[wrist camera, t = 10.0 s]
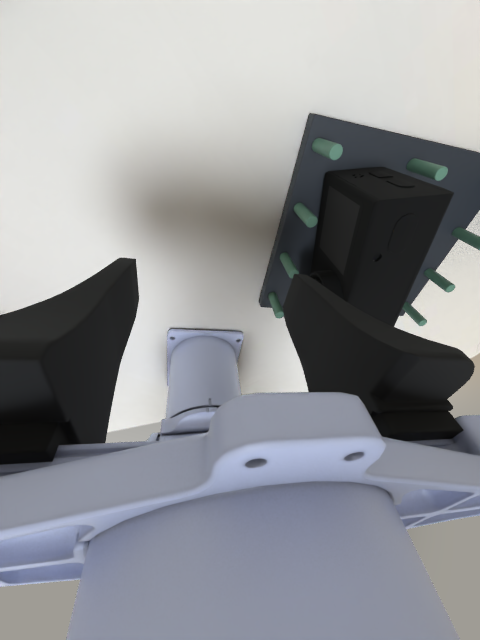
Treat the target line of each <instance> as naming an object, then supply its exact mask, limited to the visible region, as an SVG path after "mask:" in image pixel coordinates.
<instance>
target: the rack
mask: <svg viewBox="0 0 480 640" xmlns="http://www.w3.org/2000/svg"><path fill="white" fill-rule="evenodd" d="M372 167H386V168H388V169H391V170H394V171H397V172H400V173H403V174H405V175H408V176H411V177H414V178H417V179H419V180H422V181H425V182H428V183H431V184H433V185H436V186H439V187H442V188H445V189H447V190H449V191H451V192H454V195H453V197H452V199H451V201H450V204H449V206H448V208H447V210H446V213H445V215H444V217H443V219H442V222H441V224H440V226H439V228H438V231H437V233H436V235H435V237H434V239H433V242H432V244H431V246H430V248H429V251H428V253H427V255H426V257H425V260H424V262H423V264H422V266H421V268H420V271H419V273H418V275H417V277H416V279H415V282H414V284H413V286H412V288H411V290H410V293H409V295H408V297H407V299H406V301H405V303H404V306H403V308H402V310H401V312H400V314H399V316H403V315H404V314H405V312H406V313H407V314H408V315H409V316H410V317H411V318H412V319H413V320H414V321H415V322H416V323H417V324H418V325H419V326H423V325H425V324H426V323H427V320H426V319H425V318H424V317H423V316H422V315H421V314H420V313H419V312H418V311H417V310H415V309H414V308H413V307H412V306H411V304H412V302H413V301H414V300H415V298H416V297H417V296H418V294H419V293H420V291H421V290H422V289H423V287H424V286H425V284H426V283H427V282H428V280H429V279H430V280H431V281H433V282H434V283H435V284H437V285H438V286H439V287H440V288H442V289H443V290H444V291H446V292H451V291H453V290H454V288H455V285H454V284H452V283H451V282H450V281H448V280H447V279H445V278H444V277H443V276H441V275H440V274H438V273H437V272H436V269H437V268H438V267H439V265H440V264H441V262H442V261H443V260H444V258H445V257H446V255H447V254H448V253H449V251H450V250H451V249H452V247H453V246H454V244H455V243H456V242H457V240H458V239H460V240H461V241H463V242H465V243H467V244H469V245H471V246H473V247H474V248H476V249H478V250H480V237H479V236H477V235H475V234H473V233H471V232H469V231H467V230H465V229H466V228H467V226H468V225H469V224H470V222H471V221H472V220H473V218H474V217H475V215H476V214H477V213H478V211H479V210H480V153H479V152H474V151H470V150H466V149H462V148H457V147H453V146H449V145H445V144H440V143H436V142H432V141H428V140H423V139H419V138H415V137H411V136H406V135H402V134H398V133H394V132H389V131H385V130H381V129H376V128H372V127H368V126H364V125H359V124H355V123H351V122H347V121H342V120H338V119H334V118H330V117H325V116H321V115H317V114H311V113H310V114H309V117H308V121H307V124H306V128H305V132H304V135H303V139H302V143H301V147H300V150H299V154H298V158H297V162H296V165H295V169H294V173H293V176H292V180H291V184H290V188H289V191H288V195H287V199H286V202H285V206H284V210H283V214H282V217H281V221H280V225H279V228H278V232H277V236H276V240H275V243H274V247H273V251H272V255H271V258H270V262H269V266H268V269H267V273H266V277H265V281H264V284H263V288H262V292H261V295H260V299H259V303H260V306H261V307H269V308H273V311H274V314H275V316H276V318H282V317H283V316H284V313H283V309H282V308H283V305H284V302H285V299H286V296H287V293H288V290H289V287H290V284H291V282H292V279H293V276H294V274H302V275H307V276H309V274H310V273H311V266H312V259H313V252H314V246H315V239H316V232H317V225H318V219H319V212H320V205H321V198H322V192H323V185H324V178H325V174H326V172H328V171H337V170H349V169H360V168H372Z"/></svg>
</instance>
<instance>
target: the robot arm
mask: <svg viewBox="0 0 480 640" xmlns="http://www.w3.org/2000/svg"><path fill="white" fill-rule="evenodd" d="M138 302H139V293H138V281H137V269H136V259H130V258H119V259H117V260H116V261H114V262H113V263H111V264H110V265H108V266H107V267H105V268H104V269H102V270H101V271H99V272H98V273H96V274H95V275H93V276H92V277H90V278H88V279H87V280H85V281H83V282H82V283H80V284H78V285H76V286H75V287H73V288H71V289H69V290H67V291H65V292H63V293H61V294H59V295H56V296H54V297H52V298H50V299H47V300H45V301H42V302H39V303H36V304H34V305H31V306H28V307H25V308H23V309H20V310H17V311H13V312H10V313H7V314H3V315H0V587H2V586H12V585H23V584H35V583H46V582H57V581H68V580H80V583H79V587H78V591H77V596H76V600H75V604H74V608H73V612H72V617H71V621H70V625H69V629H68V633H67V637H66V640H460V638H459V636H458V634H457V632H456V630H455V628H454V626H453V624H452V622H451V620H450V618H449V616H448V614H447V612H446V610H445V607H444V605H443V603H442V601H441V599H440V597H439V596H438V593H437V591H436V589H435V587H434V585H433V583H432V581H431V579H430V577H429V575H428V573H427V571H426V569H425V567H424V565H423V563H422V560H421V558H420V556H419V554H418V552H417V550H416V548H415V546H414V544H413V542H412V540H411V538H410V536H409V534H408V532H407V530H406V529H409V528H414V527H419V526H423V525H429V524H434V523H439V522H444V521H449V520H455V519H461V518H466V517H472V516H479V515H480V415H465V416H460V417H457V418H455V419H454V418H453V416H452V415H451V414H450V412H448V411H451V410H452V409H453V406H452V405H451V403H450V402H449V401H448V400H447V399H448V398H449V397H450V396H452V394H454V393H455V392H456V391H457V390H458V389H460V388H461V387H462V386H463V385H464V384H465V383H466V382H467V381H468V380H469V379H470V377H471V376H472V374H473V372H474V363H473V362H472V361H471V360H470V359H469V358H468V357H467V356H466V355H465V354H464V353H463V352H462V351H461V350H459V349H457V348H454V347H451V346H447V345H444V344H440V343H437V342H434V341H430V340H427V339H424V338H421V337H419V336H416V335H413V334H410V333H408V332H405V331H402V330H400V329H397V328H395V327H393V326H391V325H388V324H386V323H384V322H382V321H380V320H378V319H376V318H374V317H372V316H370V315H368V314H366V313H364V312H362V311H361V310H359V309H357V308H356V307H354V306H352V305H351V304H349V303H348V302H346V301H345V300H343V299H342V298H340V297H339V296H337V295H336V294H334V293H333V292H331V291H330V290H329V289H327V288H326V287H324V286H323V285H321V284H320V283H319V282H317V281H316V280H314V279H313V278H311V277H309V276H307V275H302V274H294V276H293V279H292V282H291V284H290V287H289V290H288V293H287V296H286V299H285V302H284V305H283V313H284V318H285V322H286V325H287V328H288V331H289V333H290V336H291V338H292V341H293V343H294V346H295V348H296V351H297V354H298V356H299V359H300V361H301V364H302V367H303V371H304V374H305V378H306V382H307V386H308V390H309V392H298V393H253V394H247V395H241V388H240V382H239V376H238V369H237V361H238V357H239V353H240V349H241V345H242V341H243V337H244V336H243V333H242V332H233V331H208V330H183V329H170V330H169V331H168V334H167V385H168V397H167V408H166V419H163V420H162V422H161V432H160V433H152V434H151V435H150V437H149V438H148V439H147V440H146V441H141V442H121V443H105V441H106V434H107V429H108V423H109V417H110V412H111V406H112V401H113V396H114V391H115V385H116V381H117V376H118V371H119V366H120V363H121V359H122V356H123V353H124V350H125V347H126V344H127V341H128V338H129V336H130V333H131V330H132V327H133V324H134V321H135V318H136V313H137V307H138ZM172 337H174V338H172ZM237 339H239V340H237Z"/></svg>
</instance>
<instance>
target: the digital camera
mask: <svg viewBox="0 0 480 640" xmlns="http://www.w3.org/2000/svg"><path fill="white" fill-rule="evenodd" d="M453 195H454V192H451V191H449V190H447V189H445V188H442V187H439V186H436V185H433V184H431V183H428V182H425V181H422V180H419V179H417V178H414V177H411V176H408V175H405V174H403V173H400V172H397V171H394V170H391V169H388V168H386V167H372V168H360V169H349V170H337V171H328V172H326V174H325V178H324V185H323V192H322V198H321V205H320V212H319V219H318V225H317V232H316V239H315V246H314V252H313V259H312V266H311V273H310V274H309V277H311V278H313V279H314V280H316V281H317V282H319V283H320V284H321V285H323V286H324V287H326V288H327V289H329V290H330V291H331V292H333V293H334V294H336V295H337V296H339V297H340V298H342V299H343V300H345V301H346V302H348V303H349V304H351V305H352V306H354V307H356V308H357V309H359V310H361V311H362V312H364V313H366V314H368V315H370V316H372V317H374V318H376V319H378V320H380V321H382V322H384V323H386V324H388V325H391V326H393V327H394V325H395V323H396V321H397V319H398V317H399V314H400V312H401V310H402V308H403V306H404V303H405V301H406V299H407V297H408V295H409V293H410V290H411V288H412V286H413V284H414V282H415V279H416V277H417V275H418V273H419V271H420V268H421V266H422V264H423V262H424V260H425V257H426V255H427V253H428V251H429V248H430V246H431V244H432V242H433V239H434V237H435V235H436V233H437V231H438V228H439V226H440V224H441V222H442V219H443V217H444V215H445V213H446V210H447V208H448V206H449V204H450V201H451V199H452V197H453Z"/></svg>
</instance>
